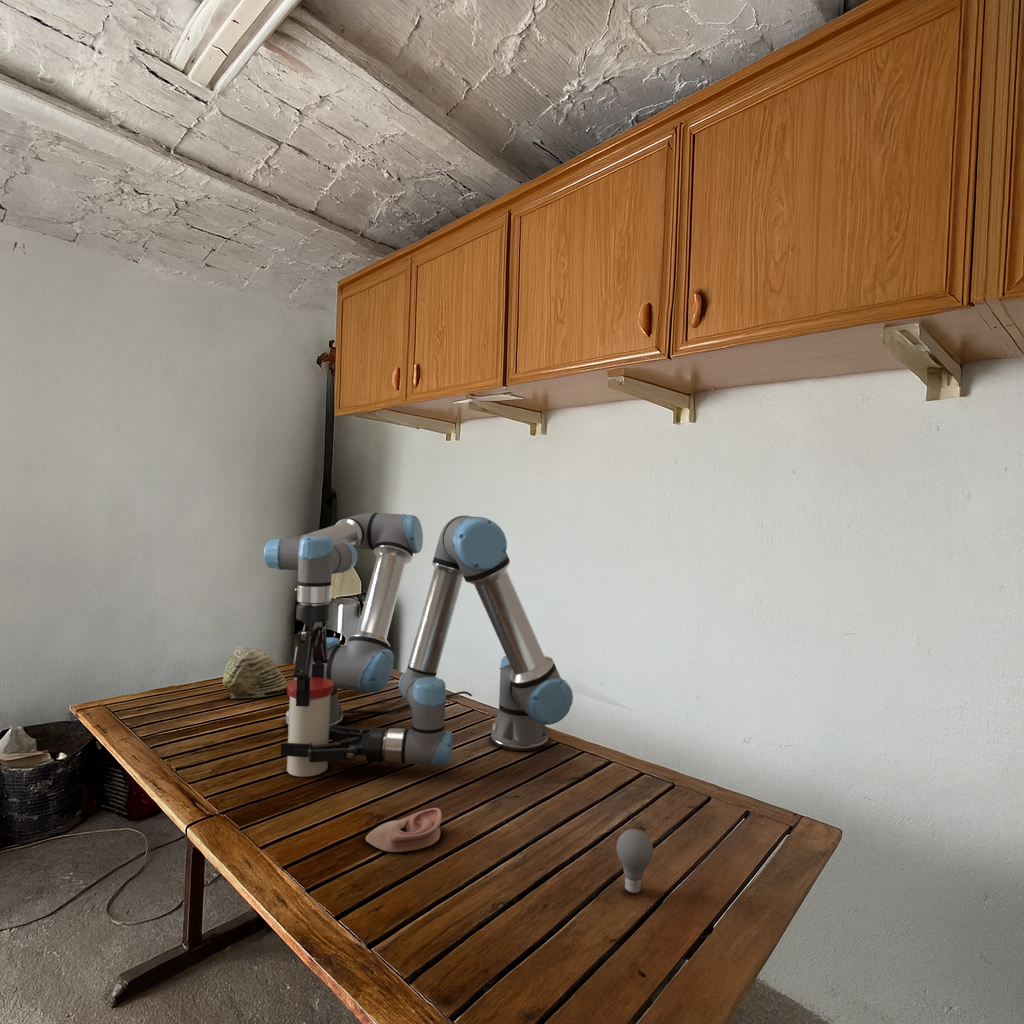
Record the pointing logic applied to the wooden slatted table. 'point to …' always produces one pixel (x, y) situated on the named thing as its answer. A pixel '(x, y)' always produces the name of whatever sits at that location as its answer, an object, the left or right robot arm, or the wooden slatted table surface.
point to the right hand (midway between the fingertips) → (289, 740)
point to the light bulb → (634, 857)
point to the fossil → (252, 674)
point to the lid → (313, 688)
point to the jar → (308, 733)
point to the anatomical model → (408, 832)
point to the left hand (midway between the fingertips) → (310, 698)
